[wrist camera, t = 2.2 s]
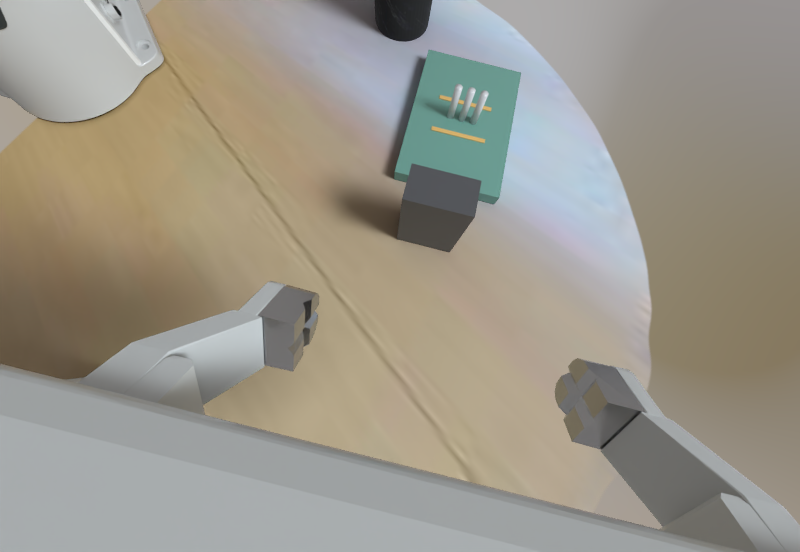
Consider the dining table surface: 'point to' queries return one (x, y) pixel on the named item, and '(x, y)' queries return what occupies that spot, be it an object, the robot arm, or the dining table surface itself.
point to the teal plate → (461, 121)
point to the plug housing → (437, 207)
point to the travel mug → (402, 18)
